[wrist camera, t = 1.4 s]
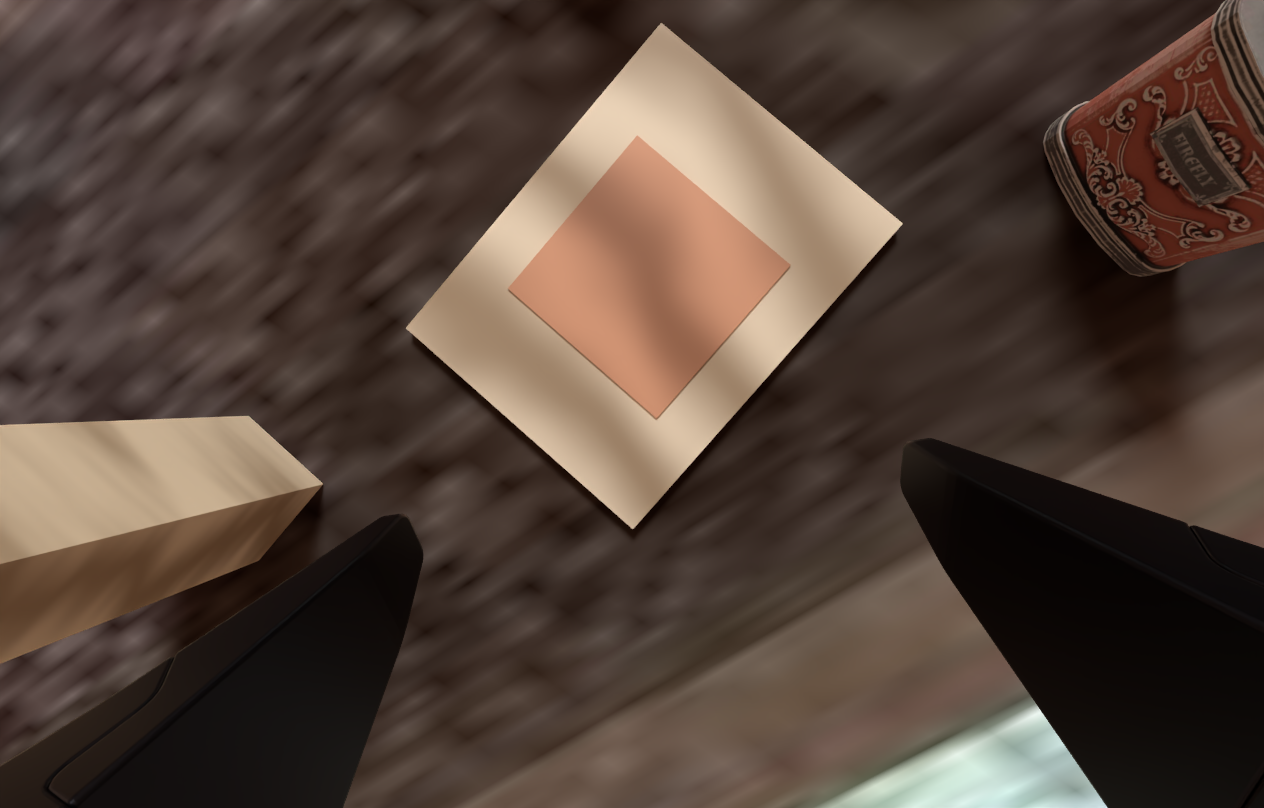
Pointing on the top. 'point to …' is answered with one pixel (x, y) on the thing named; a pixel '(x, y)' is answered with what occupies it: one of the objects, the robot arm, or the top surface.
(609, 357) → the card
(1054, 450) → the top surface
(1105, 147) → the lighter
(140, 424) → the pepper mill
